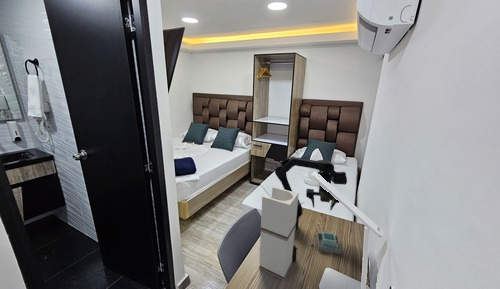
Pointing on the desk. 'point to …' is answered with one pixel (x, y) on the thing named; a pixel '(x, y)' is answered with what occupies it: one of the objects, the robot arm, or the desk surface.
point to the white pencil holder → (278, 232)
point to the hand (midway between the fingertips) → (322, 208)
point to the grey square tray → (328, 249)
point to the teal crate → (328, 240)
